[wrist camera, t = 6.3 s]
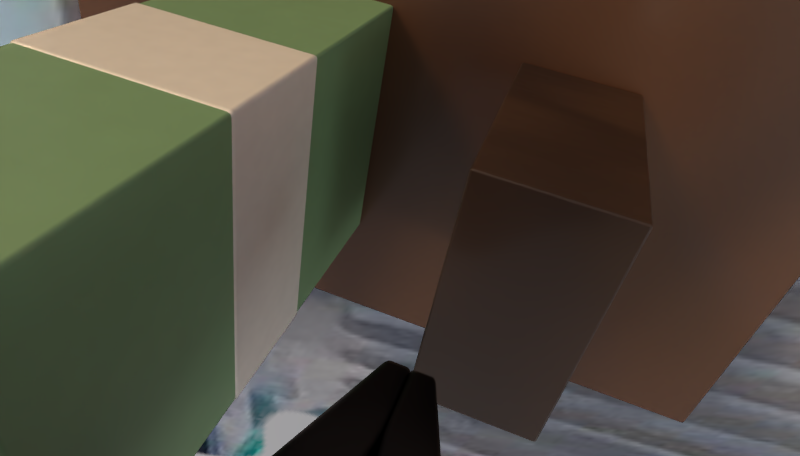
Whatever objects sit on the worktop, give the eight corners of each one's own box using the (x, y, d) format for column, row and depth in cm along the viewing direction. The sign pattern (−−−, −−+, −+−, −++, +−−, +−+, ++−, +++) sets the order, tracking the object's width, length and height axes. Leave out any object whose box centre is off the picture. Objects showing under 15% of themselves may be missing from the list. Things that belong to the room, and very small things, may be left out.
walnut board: (124, 206, 22) (-26, 312, 17) (55, -242, 14) (-274, -297, 9) (681, 409, 19) (703, 620, 14) (1023, -31, 11) (1404, 80, 5)
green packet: (300, 174, 20) (-159, 304, 13) (316, -36, 16) (-356, -24, 9) (494, 343, 15) (-77, 722, 8) (591, 103, 11) (-457, 423, 4)
